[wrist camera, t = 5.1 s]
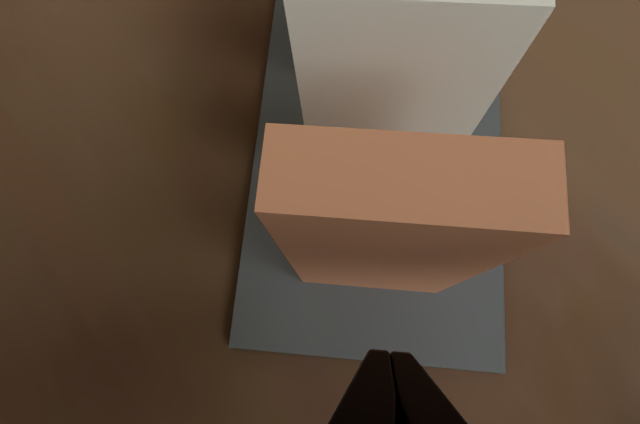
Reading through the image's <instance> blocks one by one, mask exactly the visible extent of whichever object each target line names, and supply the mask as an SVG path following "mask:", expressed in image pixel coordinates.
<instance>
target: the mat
mask: <svg viewBox="0 0 640 424" xmlns="http://www.w3.org/2000/svg"><path fill="white" fill-rule="evenodd" d="M266 123H277V124H293V125H304V121H303V115H302V109H301V103H300V97H299V91H298V85H297V79H296V73H295V67H294V61H293V56H292V50H291V44H290V38H289V32H288V26H287V20H286V14H285V8H284V2H283V0H275V7H274V14H273V22H272V29H271V37H270V44H269V51H268V59H267V66H266V74H265V81H264V88H263V96H262V103H261V110H260V118H259V125H258V133H257V140H256V147H255V155H254V162H253V170H252V177H251V184H250V192H249V199H248V207H247V214H246V221H245V229H244V236H243V244H242V251H241V258H240V266H239V273H238V280H237V288H236V295H235V303H234V310H233V317H232V325H231V332H230V340H229V347H228V348H237V349H248V350H258V351H269V352H280V353H290V354H301V355H312V356H322V357H333V358H344V359H354V360H363V359H364V357H365V355H366V354H367V352H368V350H370V349H378V350H387V351H388V352H389V353H391V352H392V351H400V352H409V353H411V354H412V355H413V356H414V357H415V358H416V360H417V361H418V362H419V363H420V365H421V366H429V367H440V368H451V369H461V370H472V371H483V372H493V373H504V374H506V363H505V318H504V272H503V264H502V265H499V266H497V267H495V268H492V269H490V270H488V271H486V272H483V273H481V274H479V275H476V276H474V277H472V278H469V279H467V280H465V281H463V282H460V283H458V284H456V285H453V286H451V287H449V288H446V289H444V290H442V291H439V292H437V293H429V292H417V291H405V290H393V289H381V288H369V287H357V286H345V285H333V284H321V283H309V282H303V281H302V280H301V279H300V277H299V276H298V274H297V273H296V271H295V270H294V268H293V267H292V266H291V264H290V263H289V261H288V260H287V258H286V257H285V256H284V254H283V253H282V251H281V250H280V248H279V247H278V245H277V244H276V243H275V241H274V240H273V238H272V237H271V235H270V234H269V233H268V231H267V230H266V228H265V227H264V225H263V224H262V222H261V221H260V220H259V218H258V217H257V215H256V214H255V212H254V209H255V201H256V193H257V186H258V178H259V170H260V163H261V155H262V148H263V140H264V132H265V125H266ZM471 135H476V136H493V137H501V135H500V92H499V93H498V95H497V96H496V98H495V99H494V101H493V102H492V104H491V105H490V107H489V108H488V110H487V111H486V113H485V115H484V116H483V118H482V119H481V121H480V122H479V124H478V125H477V127H476V128H475V130H474V131H473V133H472V134H471Z"/></svg>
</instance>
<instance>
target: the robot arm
mask: <svg viewBox="0 0 640 424" xmlns="http://www.w3.org/2000/svg"><path fill="white" fill-rule="evenodd" d="M328 424H467V422H466V421H465V420H464V419H463V417H462V416H461V415H460V414H459V412H458V411H457V410H456V409H455V407H454V406H453V405H452V404H451V402H450V401H449V400H448V399H447V397H446V396H445V395H444V394H443V392H442V391H441V390H440V389H439V387H438V386H437V385H436V384H435V382H434V381H433V380H432V379H431V377H430V376H429V375H428V373H427V372H426V371H425V370H424V368H423V367H422V366H421V365H420V363H419V362H418V361H417V360H416V358H415V357H414V356H413V355H412V354H411V353H409V352H400V351H392V352H391V353H389V352H388V351H387V350H378V349H370V350H368V352H367V354H366V355H365V357H364V359H363V361H362V363H361V365H360V366H359V368H358V370H357V372H356V374H355V376H354V377H353V379H352V381H351V383H350V385H349V387H348V388H347V390H346V392H345V394H344V396H343V398H342V399H341V401H340V403H339V405H338V407H337V409H336V410H335V412H334V414H333V416H332V418H331V420H330V421H329V423H328Z"/></svg>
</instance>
